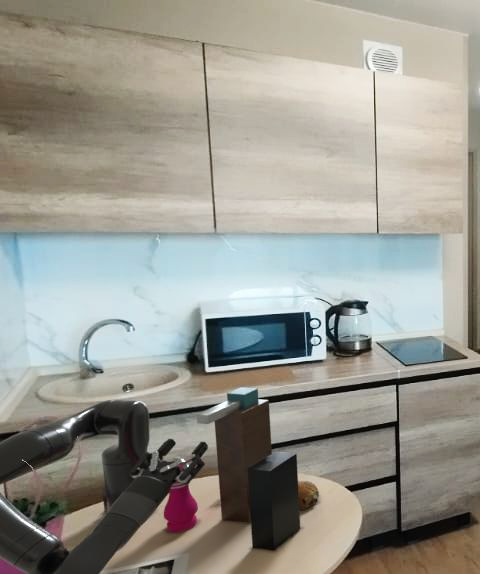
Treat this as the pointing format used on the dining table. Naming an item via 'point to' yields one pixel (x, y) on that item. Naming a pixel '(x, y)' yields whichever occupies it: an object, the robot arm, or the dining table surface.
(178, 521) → the pepper mill
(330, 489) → the dining table surface
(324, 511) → the dining table surface
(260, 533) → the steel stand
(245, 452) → the plinth
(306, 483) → the bread roll
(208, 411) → the handle bar
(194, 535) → the dining table surface
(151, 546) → the dining table surface
